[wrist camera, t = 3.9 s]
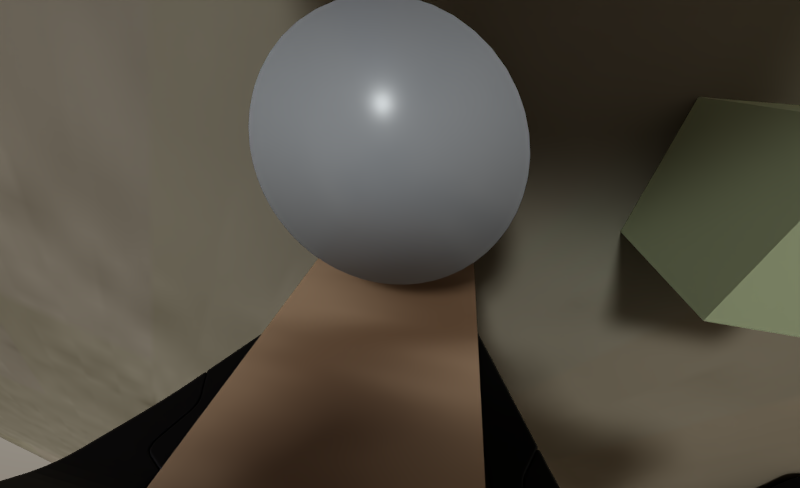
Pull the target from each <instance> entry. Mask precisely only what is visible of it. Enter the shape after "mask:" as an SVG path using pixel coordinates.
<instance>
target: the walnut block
mask: <svg viewBox="0 0 800 488" xmlns="http://www.w3.org/2000/svg"><path fill="white" fill-rule="evenodd" d="M147 488H485V471H484V451H483V431H482V412H481V392H480V372H479V353H478V333H477V313H476V294H475V274H474V263H472V264H471V265H469V266H467V267H466V268H464V269H462V270H460V271H458V272H456V273H454V274H451V275H449V276H447V277H444V278H440V279H437V280H434V281H429V282H424V283H418V284H407V285H401V284H385V283H377V282H373V281H368V280H364V279H361V278H358V277H355V276H352V275H349V274H347V273H345V272H342V271H340V270H338V269H336V268H334V267H332V266H331V265H329V264H327V263H325V262H324V261H322V260H321V259H319V258H318V259H317V261H316V262H315V263H314V265H313V266H312V267H311V269H310V270H309V271H308V273H307V274H306V275H305V277H304V278H303V279H302V281H301V282H300V283H299V285H298V286H297V287H296V289H295V290H294V291H293V293H292V294H291V295H290V297H289V298H288V299H287V301H286V302H285V304H284V305H283V306H282V308H281V309H280V310H279V312H278V313H277V314H276V316H275V317H274V318H273V320H272V321H271V322H270V324H269V325H268V326H267V328H266V329H265V330H264V332H263V333H262V334H261V336H260V337H259V338H258V340H257V341H256V342H255V344H254V345H253V346H252V348H251V349H250V350H249V352H248V353H247V354H246V356H245V357H244V358H243V360H242V361H241V362H240V364H239V365H238V366H237V368H236V369H235V370H234V372H233V373H232V374H231V376H230V377H229V378H228V380H227V381H226V382H225V384H224V385H223V386H222V388H221V389H220V391H219V392H218V393H217V395H216V396H215V397H214V399H213V400H212V401H211V403H210V404H209V405H208V407H207V408H206V409H205V411H204V412H203V413H202V415H201V416H200V417H199V419H198V420H197V421H196V423H195V424H194V425H193V427H192V428H191V429H190V431H189V432H188V433H187V435H186V436H185V437H184V439H183V440H182V441H181V443H180V444H179V445H178V447H177V448H176V449H175V451H174V452H173V453H172V455H171V456H170V457H169V459H168V460H167V461H166V463H165V464H164V465H163V467H162V468H161V469H160V471H159V472H158V473H157V475H156V476H155V478H154V479H153V480H152V482H151V483H150V484H149V486H148V487H147Z"/></svg>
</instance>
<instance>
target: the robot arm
mask: <svg viewBox="0 0 800 488" xmlns="http://www.w3.org/2000/svg"><path fill="white" fill-rule="evenodd" d="M260 336H261V335H259V336H258V337H256V338H255V339H253V340H252V341H250V342H249V343H248V344H246V345H245V346H243V347H242V348H240V349H239V350H237V351H236V352H234V353H233V354H231V355H230V356H228V357H227V358H225V359H224V360H222V361H221V362H220V363H218V364H217V365H215V366H214V367H212V368H211V369H209V370H208V371H207V373H206V372H205V373H203V374H202V375H200V376H199V377H197V378H196V379H194V380H193V381H191V382H190V383H188V384H187V385H185V386H184V387H182V388H181V389H179V390H178V391H176V392H175V393H173V394H172V395H170V396H168V397H167V398H165V399H164V400H162V401H160V402H159V403H157V404H155V405H154V406H152V407H150V408H149V409H147V410H145V411H144V412H142V413H140V414H139V415H137V416H135V417H134V418H132V419H130V420H129V421H127V422H125V423H123V424H122V425H120V426H118V427H117V428H115V429H113V430H112V431H110V432H108V433H106V434H105V435H103V436H101V437H100V438H98V439H96V440H94V441H93V442H91V443H89V444H88V445H86V446H84V447H83V448H81V449H79V450H77V451H75V452H74V453H72V454H70V455H68V456H66V457H64V458H62V459H60V460H58V461H56V462H54V463H51V464H49V465H47V466H44V467H42V468H39V469H37V470H34V471H31V472H28V473H25V474H22V475H19V476H15V477H12V478H9V479H6V480H2V481H0V488H147V487H148V486H149V484H150V483H151V482H152V480H153V479H154V478H155V476H156V475H157V473H158V472H159V471H160V469H161V468H162V467H163V465H164V464H165V463H166V461H167V460H168V459H169V457H170V456H171V455H172V453H173V452H174V451H175V449H176V448H177V447H178V445H179V444H180V443H181V441H182V440H183V439H184V437H185V436H186V435H187V433H188V432H189V431H190V429H191V428H192V427H193V425H194V424H195V423H196V421H197V420H198V419H199V417H200V416H201V415H202V413H203V412H204V411H205V409H206V408H207V407H208V405H209V404H210V403H211V401H212V400H213V399H214V397H215V396H216V395H217V393H218V392H219V391H220V389H221V388H222V386H223V385H224V384H225V382H226V381H227V380H228V378H229V377H230V376H231V374H232V373H233V372H234V370H235V369H236V368H237V366H238V365H239V364H240V362H241V361H242V360H243V358H244V357H245V356H246V354H247V353H248V352H249V350H250V349H251V348H252V346H253V345H254V344H255V342H256V341H257V340H258V338H259V337H260ZM478 353H479V372H480V392H481V412H482V431H483V451H484V471H485V488H560V487H559V486H558V484H557V482H556V480H555V478H554V477H553V475H552V473H551V471H550V469H549V467H548V466H547V464H546V462H545V460H544V458H543V456H542V454H541V452H540V451H539V450H537V445H536V443H535V441H534V439H533V437H532V435H531V433H530V431H529V430H528V428H527V426H526V424H525V422H524V420H523V418H522V416H521V414H520V412H519V411H518V409H517V407H516V405H515V403H514V401H513V399H512V397H511V395H510V393H509V392H508V390H507V388H506V386H505V384H504V382H503V380H502V378H501V376H500V374H499V372H498V371H497V369H496V367H495V365H494V363H493V361H492V359H491V357H490V355H489V353H488V352H487V350H486V348H485V346H484V344H483V342H482V340H481V338H480V336H479V334H478ZM772 488H800V477H798V478H793V479H790V480H788V481H785V482H783V483H781V484H779V485H777V486H774V487H772Z"/></svg>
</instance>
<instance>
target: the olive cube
mask: <svg viewBox="0 0 800 488" xmlns="http://www.w3.org/2000/svg"><path fill="white" fill-rule="evenodd" d="M621 233H622V234H623V235H624V236H625V237H626V238H627V239H628V240H629V241H630V242H631V244H632V245H633V246H634V247H635V248H636V249H637V250H638V251H639V252H640V253H641V254H642V255H643V256H644V258H645V259H646V260H647V261H648V262H649V263H650V264H651V265H652V266H653V267H654V268H655V269H656V270H657V272H658V273H659V274H660V275H661V276H662V277H663V278H664V279H665V280H666V281H667V282H668V283H669V284H670V286H671V287H672V288H673V289H674V290H675V291H676V292H677V293H678V294H679V295H680V296H681V297H682V298H683V300H684V301H685V302H686V303H687V304H688V305H689V306H690V307H691V308H692V309H693V310H694V311H695V312H696V314H697V315H698V316H699V317H700V318H701V319H702V320H703V321H707V322H713V323H719V324H725V325H731V326H736V327H742V328H748V329H754V330H760V331H766V332H772V333H778V334H784V335H789V336H795V337H800V105H790V104H778V103H766V102H754V101H742V100H731V99H719V98H707V97H698V98H697V100H696V102H695V104H694V105H693V107H692V109H691V111H690V112H689V114H688V116H687V117H686V119H685V121H684V123H683V124H682V126H681V128H680V130H679V131H678V133H677V135H676V137H675V138H674V140H673V142H672V143H671V145H670V147H669V149H668V150H667V152H666V154H665V156H664V157H663V159H662V161H661V163H660V164H659V166H658V168H657V169H656V171H655V173H654V175H653V176H652V178H651V180H650V182H649V183H648V185H647V187H646V188H645V190H644V192H643V194H642V195H641V197H640V199H639V201H638V202H637V204H636V206H635V208H634V209H633V211H632V213H631V214H630V216H629V218H628V220H627V221H626V223H625V225H624V227H623V228H622V230H621Z"/></svg>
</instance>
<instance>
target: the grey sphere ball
mask: <svg viewBox="0 0 800 488" xmlns="http://www.w3.org/2000/svg"><path fill="white" fill-rule="evenodd" d="M249 142H250V149H251V155H252V161H253V164H254V168H255V171H256V175H257V178H258V181H259V183H260V186H261V188H262V190H263V193H264V195H265V197H266V199H267V201H268V202H269V204H270V206H271V208H272V210H273V211H274V213H275V214H276V216H277V217H278V219H279V220H280V221H281V223H282V224H283V225H284V226H285V228H286V229H287V230H288V231H289V232H290V234H291V235H292V236H293V237H294V238H295V239H296V240H297V241H298V242H299V243H300V244H301V245H303V246H304V247H305V248H306V249H307V250H308V251H310V252H311V253H312V254H313V255H315V256H316V257H318V258H319V259H321V260H322V261H324V262H325V263H327V264H329V265H331V266H332V267H334V268H336V269H338V270H340V271H342V272H345V273H347V274H349V275H352V276H355V277H358V278H361V279H364V280H368V281H373V282H377V283H385V284H401V285H407V284H418V283H424V282H429V281H434V280H437V279H440V278H444V277H447V276H449V275H451V274H454V273H456V272H458V271H460V270H462V269H464V268H466V267H467V266H469V265H471V264H472V263H474V262H475V261H476V260H478V259H479V258H480V257H482V256H483V255H484V254H485V253H487V252H488V251H489V250H490V249H491V247H492V246H493V245H494V244H495V243H496V242H497V241H498V240H499V239H500V238H501V236H502V235H503V234H504V232H505V231H506V230H507V228H508V227H509V225H510V223H511V221H512V220H513V218H514V216H515V214H516V213H517V210H518V208H519V205H520V203H521V200H522V198H523V195H524V191H525V187H526V183H527V179H528V172H529V163H530V139H529V130H528V125H527V119H526V114H525V110H524V107H523V104H522V101H521V99H520V96H519V93H518V90H517V88H516V86H515V84H514V82H513V80H512V78H511V76H510V74H509V72H508V70H507V69H506V67H505V66H504V64H503V63H502V62H501V60H500V59H499V58H498V56H497V55H496V53H495V52H494V51H493V49H492V48H491V47H490V46H489V45H488V44H487V43H486V42H485V41H484V40H483V39H482V38H481V37H480V36H479V35H478V34H477V33H476V32H475V31H474V30H473V29H471V28H470V27H469V26H467V25H466V24H465V23H463V22H462V21H461V20H459V19H458V18H456V17H455V16H454V15H452V14H450V13H448V12H446V11H444V10H442V9H440V8H438V7H436V6H434V5H432V4H429V3H426V2H423V1H420V0H335V1H333V2H331V3H328V4H326V5H324V6H321V7H319V8H317V9H315V10H314V11H312V12H310V13H309V14H307V15H306V16H304V17H303V18H301V19H300V20H298V21H297V22H296V23H295V24H294V25H293V26H292V27H291V28H290V29H289V30H288V31H287V32H286V33H284V34H283V35H282V37H281V38H280V39H279V41H278V42H277V43H276V45H275V46H274V47H273V49H272V50H271V51H270V53H269V55H268V56H267V58H266V60H265V62H264V64H263V66H262V68H261V70H260V72H259V75H258V78H257V81H256V84H255V86H254V90H253V95H252V100H251V105H250V114H249Z"/></svg>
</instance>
